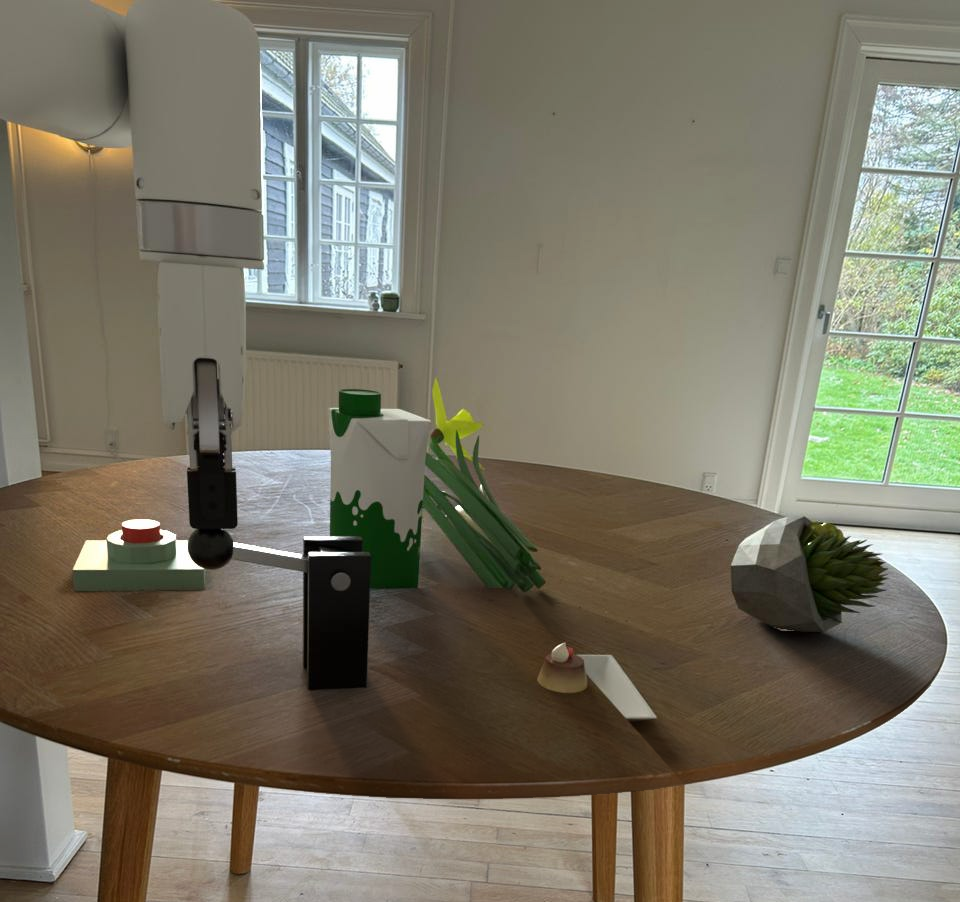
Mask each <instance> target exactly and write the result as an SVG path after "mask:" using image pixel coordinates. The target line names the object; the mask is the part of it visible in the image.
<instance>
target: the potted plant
mask: <svg viewBox="0 0 960 902" xmlns="http://www.w3.org/2000/svg"><path fill="white" fill-rule="evenodd" d="M851 537H852V535H849V536H846V537H845V536H844V533H843V531H842V530H841V529H840V528H838V527H837V526H836V525H835V524H832V523H829V522H823V524H821V523H820V522H819V521H817V520H811V519H809V518H808V517H806V516H805V515H797V516H796V515H795V516H794V515H793V516H785V517H782V518H779V519H776V520H773V521H772V522H770V523H769V524H767V525H766V526H763V528H761V529H758V530H757V531H756V532H754V533H752V534H750V535H749V536H747V537H746V538H744V540H742V541H741V542H740V544H739V545H738V546H737V549H736V551H735V554H734V556H733V559H732V562H731V564H730V584H731V586H730V587H731V593H732V596H733V598H734V601H735V604H736V605H737V608H738V610H740V611H742V612H743V613H745V614H747V615H748V616H751V617H753V618H755V619H756V620H758V621H760V622H762V623H764V624H766V625H768V624H769V625H771V626H773V627H776V628H780V629H787V630H794V631H801V633H825V632H827V631H828V630H830V629H832V628H834V627H836V626H838V625H840V624H843V621H842V620H843V619H842V613H850V614H861V612H860V611H857V610H854V609H851V608H848V607H847V606H854V607H865V608H873V607H876V605H875V604H874V605H873V604H869V603H867V602H863V601H860V600H867V599H872V598H879V595H874V594H878V593H882V592H886V591H887V589H884V588H879V586H883V585H885V584H886V583H884V582H883V581H887V580H888V579H889V577H885V576H888V575H889V573H884V572H886V571H889V569H890V568H888V567H884V566H883V565H885V564H886V563H887V562H886V561H882V558H879V557H878V556H881V555H882V553H881V552H875V551H866V550H867V549H868V548H870V547H871V546H874V544H872V543H871V544H867V545H863V546H859V545H862V544H863V543H865V542H866V541H868V539H864V540H862V539H859V540H854V541H851V542H848V543H846V542H847V541H848V540H849V539H850V538H851ZM876 557H878V558H876ZM882 573H884V574H882ZM769 625H768V626H769ZM771 626H770V627H771ZM773 627H772V628H773Z"/></svg>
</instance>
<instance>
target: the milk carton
mask: <svg viewBox="0 0 960 902" xmlns="http://www.w3.org/2000/svg"><path fill="white" fill-rule="evenodd" d="M327 417H328V418H327V419H328V433H329V446H330V447H329V448H330V478H329V479H330V481H329V482H330V485H329V486H330V488H329V490H330V492H329V537H361V538H362V540H363V552H369V553H370V555H371V575H370V590H403V589H404V590H406V589H407V590H411V589H414V590H415V589H416V590H417V589H419V578H420V563H421V562H420V560H421V559H420V558H421V542H422V540H421V539H422V526H423V525H422V523H423V520H422V514H423V490H424V475H425V472H426V465H425V458H426V452H427V451H428V446H429V436H430V433H431V428H432V427H431V426H432V420H430V419H428V418H425V417H422V416H419V415H417V414H414V413H412V412H408V411H406V410H404V409H401V408H382V393H381V392H380V391H376V390H371V389H363V388H362V389H361V388H343V389H340V390H338V407H328V408H327Z"/></svg>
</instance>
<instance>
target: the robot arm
mask: <svg viewBox="0 0 960 902" xmlns="http://www.w3.org/2000/svg"><path fill="white" fill-rule="evenodd" d="M261 58H262V57H261V44H260V41H259V35H258V32H257V29H256V28H255V25H254V24H253V23H252V21H251V20H250V19H249V18H248V17H247V15H245V14H244V13H243V12H241V11H240V10H238V9H236V8H234V7H232V6H230V5H228V4H226V3H223V2H220V1H217V0H134V1H133V2H132V3H131V4H130V6H129V8H128V10H127V13H126V15H124V14H121V13H119V12H117V11H115V10H112V9H110V8H108V7H105V6H104V5H101V4H99V3H96V2H95V1H92V0H0V120H3V121H5V122H9V123H12V124H15V125H19V126H23V127H25V128H30V129H34V130H38V131H42V132H45V133H48V134H52V135H56V136H59V137H60V138H61V137H62V138H64V139H68V140H70V141H74V142H77V143H80V144H85V145H88V146H93V147H98V148H103V149H104V148H105V149H128V148H131V149H132V150H131V151H132V152H131V153H132V165H133V178H134V179H133V181H134V194H135V200H136V201H135V208H136V211H135V212H136V223H137V224H136V225H137V238H138V240H137V241H138V250H139V251H138V255H139V257H138V258H139V261H146V262H158V264H157V325H158V345H159V364H160V365H159V367H160V383H161V384H160V385H161V386H160V387H161V408H162V410H161V411H162V414H161V415H162V425H163V426H164V427H166V429H168V430H169V431H174V430H175V428H176V424H183V422H184V419H185V416H186V420H187V427H186V428H187V430H186V433H187V437H188V438H187V439H188V457H189V458H188V459H189V466H187V467H186V468H187V469H186V481H187V484H186V485H187V501H188V502H187V503H188V521H189V526H190V527H191V528H192V529H194V530H196V529H225V530H234V529H236V528H237V527H238V524H239V523H238V521H239V520H238V519H239V518H238V492H237V491H238V487H237V468H236V467H234V466H233V449H232V448H233V447H232V435H233V432H236V431H237V430H239V429H240V428H241V427H242V425H243V414H244V405H245V404H244V403H245V391H246V370H247V305H246V304H247V303H246V300H247V299H246V269H248V270H265V261H264V260H265V239H264V237H265V236H264V231H265V229H264V176H263V175H264V173H263V169H264V168H263V167H264V165H263V164H264V163H263V115H262V114H263V113H262V112H263V111H262V110H263V109H262V107H263V106H262V59H261Z"/></svg>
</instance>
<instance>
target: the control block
mask: <svg viewBox="0 0 960 902" xmlns="http://www.w3.org/2000/svg"><path fill="white" fill-rule="evenodd" d="M160 535H161V540H159V541H157V542H151V543H130V542H124V541H123V536H122V529H121V530H118V531H115V532H112V533H110V534H108V536H107V537H106V539H105V540H104V539H103V540H101V539H100V540H99V539H98V540H97V539H96V540H93V539H90V540H87V539H86V540H85V541H84V543H83V545H82V547H81V550H80V552H79V554H78V557H77V559H76V561H75V563H74V565H73V567H72V569H71V575H72V586H73V591H74V592H105V591H106V592H107V591H109V592H110V591H111V592H113V591H114V592H115V591H119V592H120V591H184V590H185V591H186V590H187V591H188V590H189V591H190V590H191V591H193V590H195V591H196V590H205V589H206V569H204V568H201V567H199V566H198V565H196V564H195V563H194V562H193V561H192V559H191V558H190V556H189V553H188V547H187V545H188V540H177V534H174V533H172V532H171V531H168V530H163V529H160Z"/></svg>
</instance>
